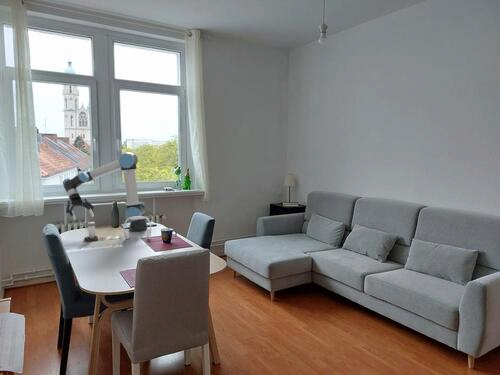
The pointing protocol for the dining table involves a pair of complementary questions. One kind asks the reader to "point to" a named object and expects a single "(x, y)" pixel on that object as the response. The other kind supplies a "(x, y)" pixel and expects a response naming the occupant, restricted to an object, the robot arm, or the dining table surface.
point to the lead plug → (91, 229)
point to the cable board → (100, 238)
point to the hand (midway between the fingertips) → (84, 217)
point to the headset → (126, 231)
